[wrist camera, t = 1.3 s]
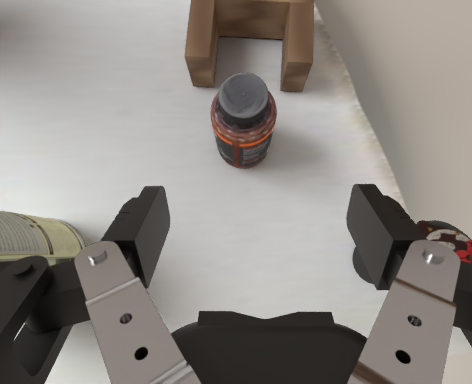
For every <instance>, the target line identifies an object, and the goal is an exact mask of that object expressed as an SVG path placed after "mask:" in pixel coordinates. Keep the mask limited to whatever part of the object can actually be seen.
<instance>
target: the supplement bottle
mask: <svg viewBox="0 0 472 384" xmlns="http://www.w3.org/2000/svg"><path fill="white" fill-rule="evenodd" d="M276 115H277V109H276V104H275V101H274V99H273V97H272V95H271V93H270V92H269V91H268V89H267V86H266V84H265V83H264V82H263V80H262V79H261V78H259V77H258V76H256V75H254V74H251V73H244V72H242V73H237V74H233V75H232V76H230V77H228V78H227V79H226V80H225V81H224V82H223V84H222V85H221V87H220V90H219V92H218V93H217V94H216V96H215V97H214V99H213V102H212V105H211V121H212V126H213V130H214V134H215V138H216V142H217V146H218V150H219V152H220V155H221V156H222V158H223V159H224V160H225V161H226V162H227V163H228V164H230V165H232V166H234V167H237V168H249V167H253V166H255V165H257V164H258V163H260V162H261V161H262V160H263V159H264V158H265V156H266V154H267V152H268V149H269V145H270V142H271V137H272V133H273V129H274V125H275V121H276Z"/></svg>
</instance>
